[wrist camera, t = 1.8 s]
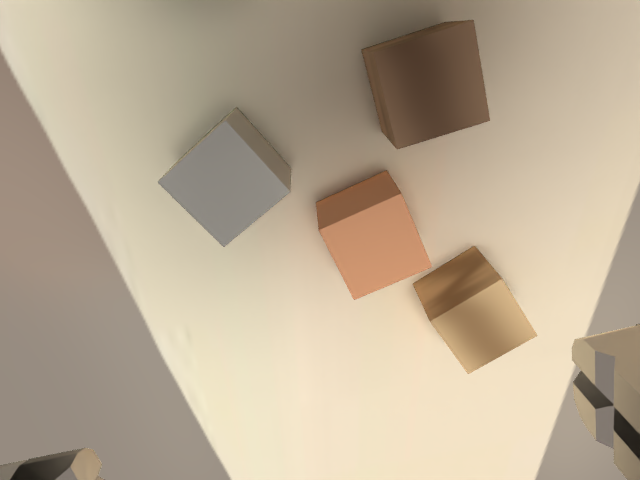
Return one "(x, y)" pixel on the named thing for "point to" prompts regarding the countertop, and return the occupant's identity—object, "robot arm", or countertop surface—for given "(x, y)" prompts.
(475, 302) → the oak cube
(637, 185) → the countertop surface
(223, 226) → the grey cube
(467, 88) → the walnut cube
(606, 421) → the robot arm
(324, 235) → the terracotta cube
